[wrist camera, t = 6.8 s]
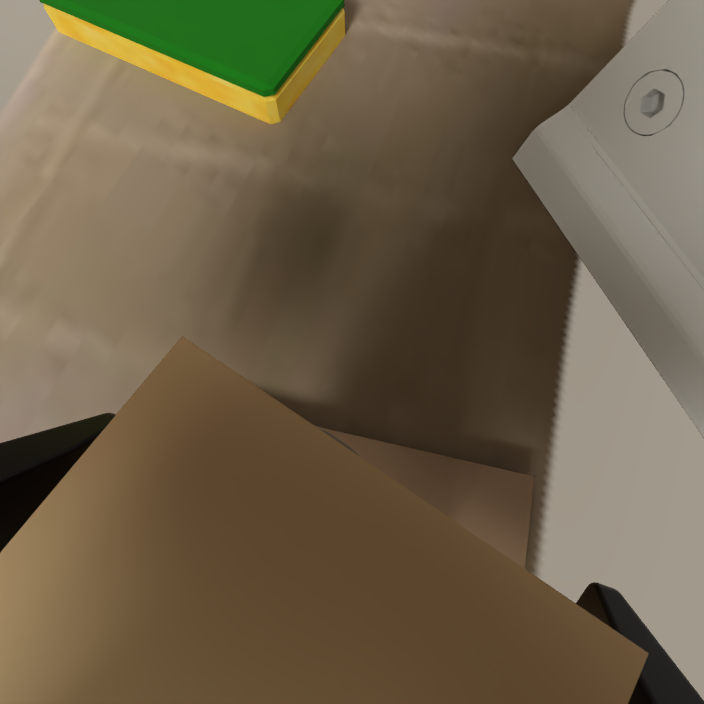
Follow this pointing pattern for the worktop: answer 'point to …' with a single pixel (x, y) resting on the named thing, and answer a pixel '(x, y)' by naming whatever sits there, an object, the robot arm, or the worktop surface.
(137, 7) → the dish sponge
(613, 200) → the grey angled piece
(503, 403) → the worktop surface
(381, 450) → the base board
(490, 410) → the worktop surface
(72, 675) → the wooden block
